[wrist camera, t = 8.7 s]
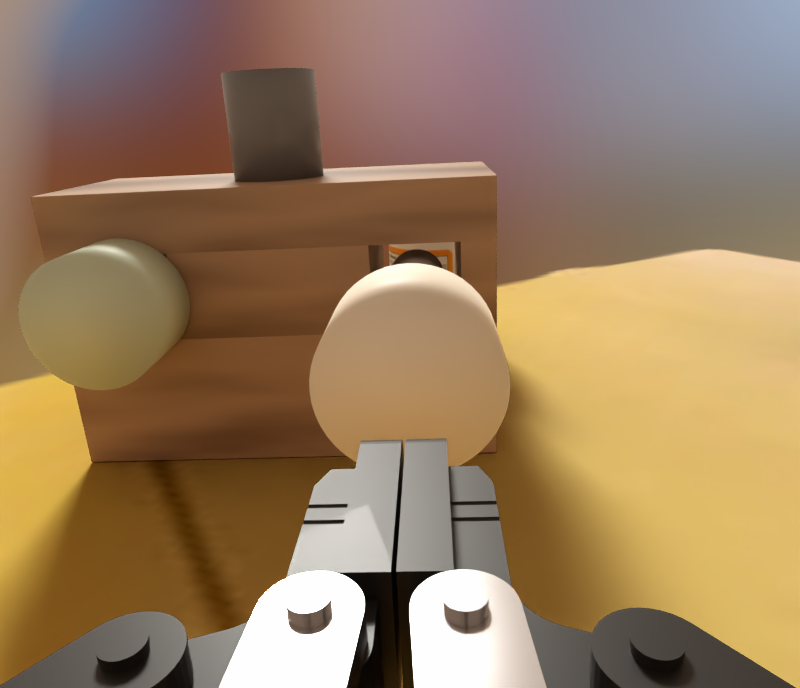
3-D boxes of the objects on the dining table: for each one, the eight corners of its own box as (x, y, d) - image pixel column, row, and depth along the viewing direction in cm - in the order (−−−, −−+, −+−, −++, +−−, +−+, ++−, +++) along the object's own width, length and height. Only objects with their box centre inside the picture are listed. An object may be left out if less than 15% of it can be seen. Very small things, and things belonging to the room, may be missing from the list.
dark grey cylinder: (337, 176, 26) (328, 67, 25) (248, 184, 25) (234, 69, 23) (306, 171, 29) (297, 74, 28) (225, 178, 28) (211, 76, 26)
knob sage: (170, 388, 23) (145, 251, 21) (36, 392, 23) (2, 257, 21) (253, 299, 34) (241, 204, 32) (162, 302, 34) (145, 209, 32)
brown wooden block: (496, 452, 27) (496, 175, 23) (91, 461, 28) (30, 196, 24) (483, 385, 33) (481, 161, 30) (156, 394, 34) (115, 178, 31)
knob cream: (510, 475, 16) (511, 287, 15) (318, 479, 17) (299, 295, 15) (477, 330, 27) (475, 213, 26) (361, 334, 27) (353, 218, 26)
